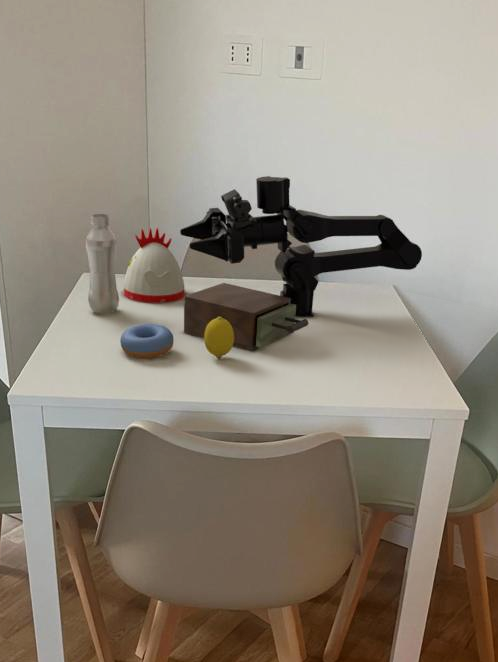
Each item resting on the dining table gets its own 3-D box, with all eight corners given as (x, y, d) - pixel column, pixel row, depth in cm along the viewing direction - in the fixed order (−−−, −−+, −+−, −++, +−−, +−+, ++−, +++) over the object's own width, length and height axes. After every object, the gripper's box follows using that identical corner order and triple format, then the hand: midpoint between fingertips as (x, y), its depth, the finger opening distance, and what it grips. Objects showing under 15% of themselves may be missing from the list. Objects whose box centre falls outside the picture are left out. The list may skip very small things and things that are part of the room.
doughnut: (130, 364, 146) (129, 340, 144) (113, 346, 154) (113, 323, 152) (181, 358, 150) (181, 334, 148) (163, 341, 158) (163, 318, 156)
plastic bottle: (124, 309, 175) (122, 214, 165) (110, 318, 169) (106, 220, 160) (98, 305, 177) (94, 211, 167) (82, 313, 171) (77, 216, 161)
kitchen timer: (121, 286, 191) (119, 221, 183) (178, 285, 194) (179, 221, 187) (127, 303, 179) (126, 234, 172) (188, 302, 182) (189, 234, 175)
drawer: (315, 337, 161) (317, 309, 159) (282, 353, 152) (284, 324, 149) (231, 316, 171) (232, 290, 168) (196, 330, 162) (197, 302, 159)
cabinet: (288, 334, 165) (290, 298, 162) (251, 351, 155) (253, 312, 152) (222, 317, 173) (223, 282, 170) (183, 332, 163) (184, 295, 159)
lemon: (232, 364, 149) (234, 322, 145) (202, 362, 149) (203, 320, 145) (233, 353, 153) (235, 313, 150) (204, 352, 153) (205, 311, 150)
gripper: (245, 180, 170) (173, 186, 167) (271, 203, 155) (192, 211, 152) (246, 232, 177) (177, 240, 173) (271, 260, 162) (195, 268, 158)
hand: (185, 239), depth 164 cm, fingers open, 9 cm apart
